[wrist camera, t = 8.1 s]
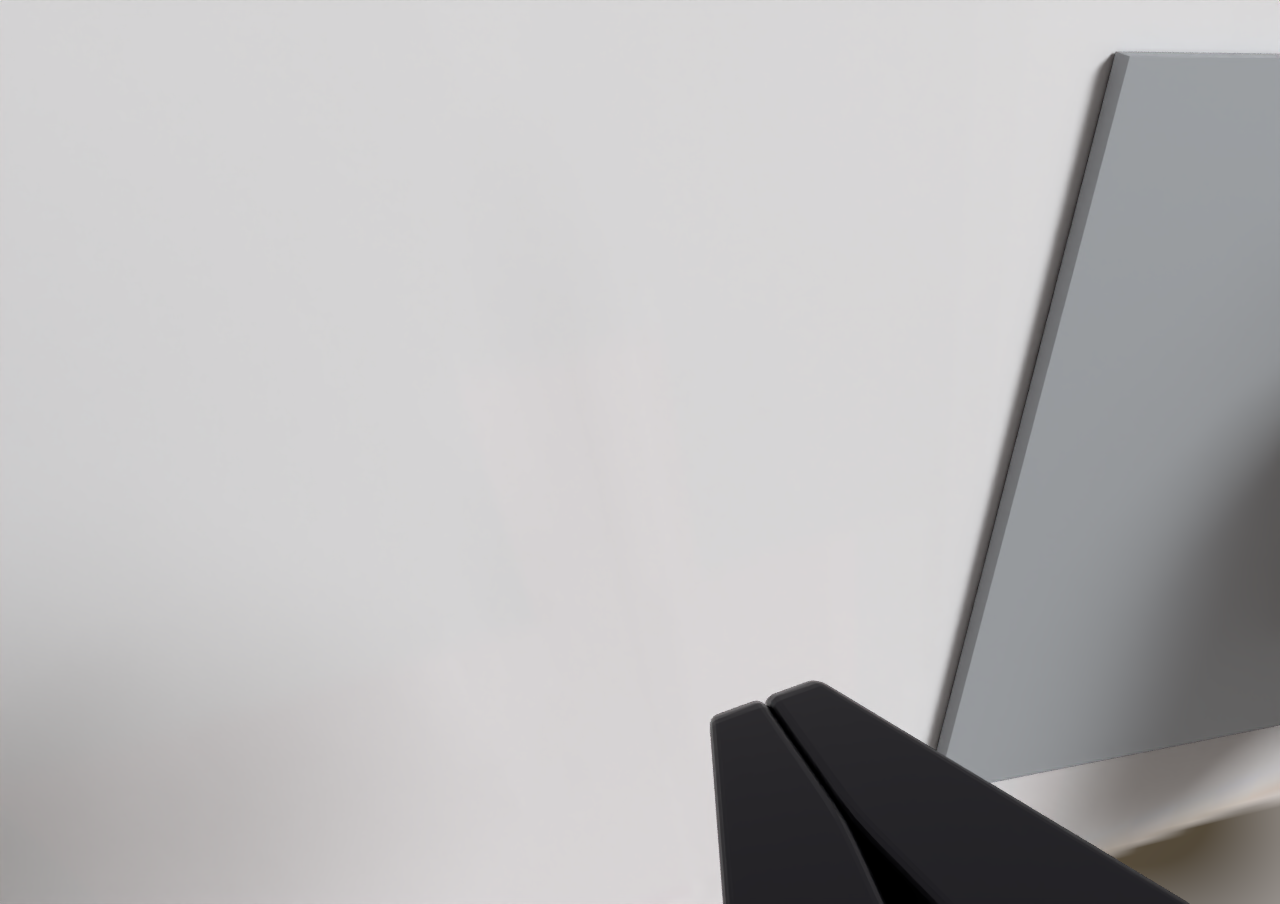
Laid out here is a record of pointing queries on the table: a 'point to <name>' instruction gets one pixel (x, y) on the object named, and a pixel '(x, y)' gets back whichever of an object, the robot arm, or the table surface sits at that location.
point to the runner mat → (1144, 446)
